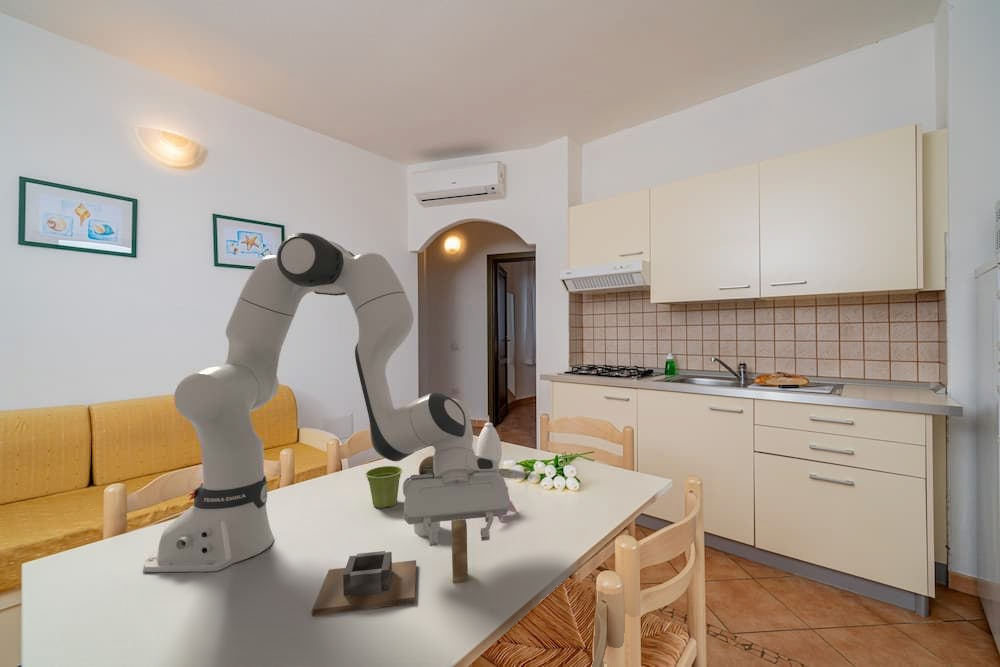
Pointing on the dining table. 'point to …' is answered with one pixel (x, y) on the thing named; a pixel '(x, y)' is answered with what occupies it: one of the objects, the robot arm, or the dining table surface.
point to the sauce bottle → (489, 443)
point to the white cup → (420, 530)
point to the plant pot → (384, 485)
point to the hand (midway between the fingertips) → (460, 542)
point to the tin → (426, 466)
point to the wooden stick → (459, 551)
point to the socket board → (367, 584)
